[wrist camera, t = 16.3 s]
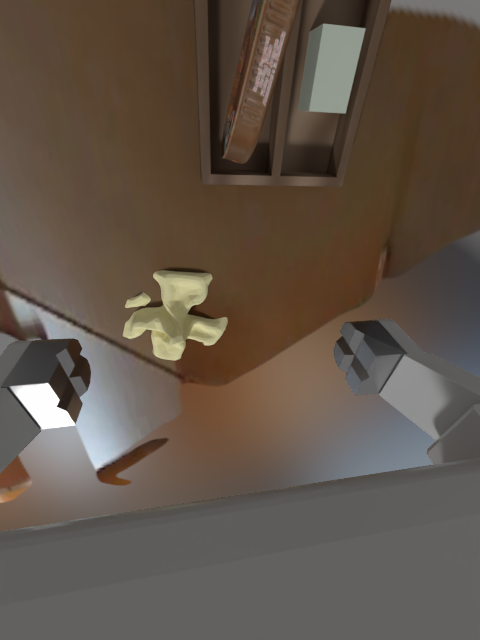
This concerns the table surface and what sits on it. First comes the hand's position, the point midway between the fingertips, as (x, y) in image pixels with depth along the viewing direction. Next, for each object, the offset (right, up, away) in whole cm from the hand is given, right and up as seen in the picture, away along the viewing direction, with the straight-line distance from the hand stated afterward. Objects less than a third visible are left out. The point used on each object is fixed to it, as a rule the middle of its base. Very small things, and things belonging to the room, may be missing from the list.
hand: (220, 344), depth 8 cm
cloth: (-12, +1, +39) cm, 40 cm away
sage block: (+9, +27, +20) cm, 34 cm away
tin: (+2, +26, +18) cm, 32 cm away
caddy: (+5, +27, +20) cm, 34 cm away
